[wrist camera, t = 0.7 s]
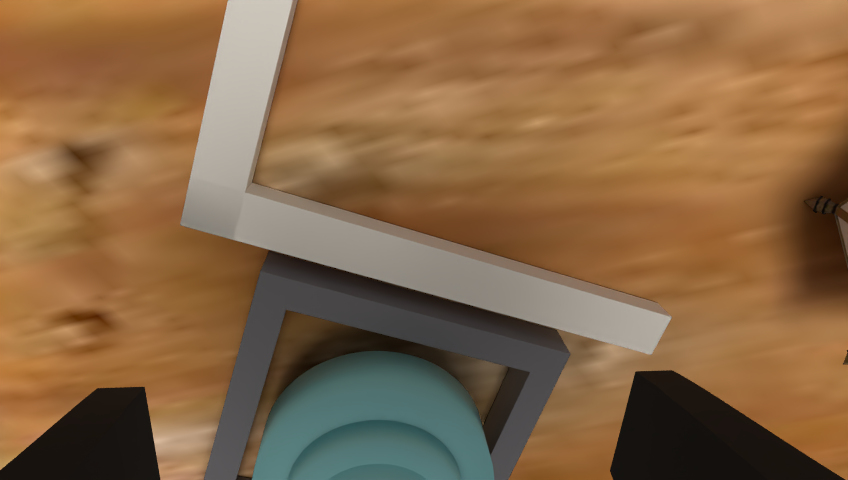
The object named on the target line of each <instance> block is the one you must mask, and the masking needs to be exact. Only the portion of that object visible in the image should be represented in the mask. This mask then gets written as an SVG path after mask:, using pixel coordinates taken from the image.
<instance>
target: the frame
mask: <svg viewBox="0 0 848 480" xmlns="http://www.w3.org/2000/svg"><path fill="white" fill-rule="evenodd" d="M297 1H298V0H228V3H227V8H226V12H225V17H224V22H223V26H222V31H221V36H220V40H219V45H218V50H217V55H216V59H215V64H214V69H213V73H212V78H211V83H210V87H209V92H208V97H207V101H206V106H205V111H204V115H203V120H202V125H201V129H200V134H199V139H198V144H197V148H196V153H195V158H194V162H193V167H192V172H191V176H190V181H189V186H188V190H187V195H186V200H185V204H184V209H183V214H182V218H181V223H180V225H181V226H185V227H188V228H192V229H196V230H199V231H203V232H207V233H210V234H214V235H218V236H221V237H225V238H228V239H232V240H236V241H239V242H243V243H247V244H250V245H254V246H257V247H261V248H265V249H268V250H272V251H276V252H279V253H283V254H287V255H290V256H294V257H297V258H301V259H305V260H308V261H312V262H316V263H319V264H323V265H326V266H330V267H334V268H337V269H341V270H345V271H348V272H352V273H356V274H359V275H363V276H366V277H370V278H374V279H377V280H381V281H385V282H388V283H392V284H396V285H399V286H403V287H406V288H410V289H414V290H417V291H421V292H425V293H428V294H432V295H435V296H439V297H443V298H446V299H450V300H454V301H457V302H461V303H465V304H468V305H472V306H475V307H479V308H483V309H486V310H490V311H494V312H497V313H501V314H505V315H508V316H512V317H515V318H519V319H523V320H526V321H530V322H534V323H537V324H541V325H544V326H548V327H552V328H555V329H559V330H563V331H566V332H570V333H574V334H577V335H581V336H584V337H588V338H592V339H595V340H599V341H603V342H606V343H610V344H613V345H617V346H621V347H624V348H628V349H632V350H635V351H639V352H643V353H646V354H650V355H651V354H652V352H653V351H654V349H655V347H656V345H657V343H658V342H659V340H660V338H661V336H662V334H663V333H664V331H665V329H666V327H667V325H668V323H669V322H670V320H671V318H672V317H671V316H670V315H669V314H668V313H667V312H666V311H665V310H664V309H663V308H662V307H661V306H660V305H659V304H658V303H656V302H653V301H650V300H646V299H643V298H639V297H636V296H633V295H629V294H626V293H623V292H619V291H616V290H612V289H609V288H606V287H602V286H599V285H596V284H592V283H589V282H585V281H582V280H579V279H575V278H572V277H569V276H565V275H562V274H558V273H555V272H552V271H548V270H545V269H542V268H538V267H535V266H531V265H528V264H525V263H521V262H518V261H515V260H511V259H508V258H504V257H501V256H498V255H494V254H491V253H488V252H484V251H481V250H477V249H474V248H471V247H467V246H464V245H461V244H457V243H454V242H450V241H447V240H444V239H440V238H437V237H434V236H430V235H427V234H423V233H420V232H417V231H413V230H410V229H407V228H403V227H400V226H396V225H393V224H390V223H386V222H383V221H380V220H376V219H373V218H370V217H366V216H363V215H359V214H356V213H353V212H349V211H346V210H343V209H339V208H336V207H332V206H329V205H326V204H322V203H319V202H316V201H312V200H309V199H305V198H302V197H299V196H295V195H292V194H289V193H285V192H282V191H278V190H275V189H272V188H268V187H265V186H262V185H258V184H255V183H252V180H253V176H254V172H255V168H256V164H257V160H258V156H259V152H260V148H261V144H262V140H263V136H264V132H265V128H266V124H267V120H268V116H269V112H270V108H271V104H272V101H273V97H274V93H275V89H276V85H277V81H278V77H279V73H280V69H281V65H282V61H283V57H284V53H285V49H286V45H287V41H288V37H289V33H290V29H291V25H292V21H293V17H294V13H295V9H296V5H297Z"/></svg>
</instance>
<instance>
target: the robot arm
mask: <svg viewBox="0 0 848 480" xmlns="http://www.w3.org/2000/svg"><path fill="white" fill-rule="evenodd" d="M610 472H611V475H612V477H613V480H845V479H843V478H842V477H840V476H839V475H837V474H835V473H834V472H832V471H831V470H829V469H827V468H826V467H824V466H823V465H821V464H819V463H818V462H816V461H815V460H813V459H812V458H810V457H808V456H807V455H805V454H804V453H802V452H801V451H799V450H798V449H796V448H794V447H793V446H791V445H790V444H788V443H787V442H785V441H784V440H782V439H780V438H779V437H777V436H776V435H774V434H773V433H771V432H770V431H768V430H767V429H765V428H764V427H762V426H760V425H759V424H757V423H756V422H754V421H753V420H751V419H750V418H748V417H747V416H745V415H744V414H742V413H741V412H739V411H738V410H736V409H734V408H733V407H731V406H730V405H728V404H727V403H725V402H724V401H722V400H721V399H719V398H717V397H716V396H714V395H713V394H711V393H710V392H708V391H706V390H705V389H703V388H702V387H700V386H698V385H697V384H695V383H693V382H692V381H690V380H688V379H687V378H685V377H683V376H681V375H680V374H678V373H676V372H674V371H672V370H669V371H637V372H635V376H634V380H633V384H632V387H631V391H630V395H629V399H628V403H627V407H626V411H625V415H624V419H623V422H622V426H621V430H620V434H619V438H618V442H617V446H616V450H615V454H614V457H613V461H612V465H611V469H610ZM0 480H160V475H159V469H158V463H157V457H156V451H155V445H154V439H153V434H152V428H151V422H150V416H149V410H148V404H147V398H146V392H145V387H125V388H97V389H96V390H95V391H94V392H92V393H91V394H90V395H89V396H87V397H86V398H85V399H84V400H82V401H81V402H80V403H79V404H78V405H76V406H75V407H74V408H73V409H72V410H71V411H69V412H68V413H67V414H66V415H65V416H64V417H62V418H61V419H60V420H59V421H58V422H57V423H55V424H54V425H53V426H52V427H51V428H50V429H48V430H47V431H46V432H45V433H44V434H43V435H41V436H40V437H39V438H38V439H37V440H36V441H34V442H33V443H32V444H31V445H30V446H29V447H27V448H26V449H25V450H24V451H23V452H21V453H20V454H19V455H18V456H17V457H16V458H14V459H13V460H12V461H11V462H10V463H8V464H7V465H6V466H5V467H4V468H2V469H1V470H0Z"/></svg>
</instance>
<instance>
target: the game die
mask: <svg viewBox="0 0 848 480" xmlns="http://www.w3.org/2000/svg"><path fill="white" fill-rule="evenodd" d="M805 202H806V203H807V204H808V205H809V206H810V207H811V208H812V209H813V211H814V212H815V213H817V212H821V213H822V214H824V215H825V214H826V213H832V214H834V215H835V218H836V222H837V226H838V230H839V234H840V239H841V243H842V247H843V251H844V255H845V259H846V263H847V267H848V198H847V199H846V200H844V201H843V202H841V203H840V204H836V203H834V202H832V201H831V199H830V198H829V199H825V198H823V196H820V197H819V198H815V199H811V200H806V201H805ZM847 352H848V350H847ZM845 364H848V353H847V355H846V358H845V360H844V363H843V365H845Z"/></svg>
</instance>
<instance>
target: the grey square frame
mask: <svg viewBox="0 0 848 480" xmlns="http://www.w3.org/2000/svg"><path fill="white" fill-rule="evenodd" d="M286 310H289V311H293V312H297V313H301V314H305V315H309V316H313V317H317V318H321V319H325V320H328V321H332V322H336V323H340V324H344V325H348V326H352V327H356V328H360V329H364V330H368V331H371V332H375V333H379V334H383V335H387V336H391V337H395V338H399V339H403V340H407V341H410V342H414V343H418V344H422V345H426V346H430V347H434V348H438V349H442V350H446V351H449V352H453V353H457V354H461V355H465V356H469V357H473V358H477V359H481V360H485V361H488V362H492V363H496V364H500V365H504V366H508V367H510V368H509V371H508V373H507V375H506V377H505V379H504V381H503V384H502V386H501V388H500V390H499V392H498V394H497V397H496V399H495V401H494V403H493V405H492V407H491V410H490V412H489V414H488V416H487V418H486V421H485V423H484V425H483V430H484V434H485V438H486V442H487V445H488V449H489V453H490V457H491V460H492V464H493V471H494V480H508V479H509V477H510V475H511V473H512V471H513V469H514V467H515V465H516V463H517V461H518V459H519V457H520V455H521V453H522V451H523V449H524V447H525V445H526V443H527V441H528V439H529V437H530V434H531V432H532V430H533V428H534V426H535V424H536V422H537V420H538V418H539V416H540V414H541V412H542V410H543V408H544V406H545V404H546V402H547V400H548V398H549V396H550V394H551V392H552V390H553V388H554V386H555V384H556V382H557V380H558V378H559V376H560V374H561V372H562V370H563V368H564V366H565V364H566V362H567V360H568V358H569V356H570V352H569V351H568V349H567V347H566V346H565V344H564V342H563V340H562V339H561V337H560V335H559V334H558V332H557V330H554V329H550V328H547V327H543V326H539V325H536V324H532V323H529V322H525V321H521V320H518V319H514V318H510V317H507V316H503V315H499V314H496V313H492V312H489V311H485V310H481V309H478V308H474V307H470V306H467V305H463V304H459V303H456V302H452V301H448V300H445V299H441V298H438V297H434V296H430V295H427V294H423V293H419V292H416V291H412V290H408V289H405V288H401V287H398V286H394V285H390V284H387V283H383V282H379V281H376V280H372V279H368V278H365V277H361V276H357V275H354V274H350V273H347V272H343V271H339V270H336V269H332V268H328V267H325V266H321V265H317V264H314V263H310V262H307V261H303V260H299V259H296V258H292V257H288V256H285V255H281V254H277V253H274V252H270V251H269V252H268V255H267V257H266V259H265V262H264V264H263V266H262V269H261V271H260V275H259V278H258V282H257V286H256V289H255V293H254V297H253V300H252V304H251V308H250V311H249V315H248V319H247V322H246V326H245V330H244V334H243V337H242V341H241V345H240V348H239V352H238V356H237V359H236V363H235V367H234V370H233V374H232V378H231V381H230V385H229V389H228V392H227V396H226V400H225V404H224V407H223V411H222V415H221V418H220V422H219V426H218V429H217V433H216V437H215V440H214V444H213V448H212V451H211V455H210V459H209V463H208V466H207V470H206V474H205V477H204V480H252V479H250V478H245V477H240V476H237V474H238V471H239V467H240V464H241V461H242V457H243V454H244V450H245V447H246V444H247V440H248V437H249V433H250V430H251V427H252V423H253V420H254V417H255V413H256V410H257V406H258V403H259V400H260V396H261V393H262V389H263V386H264V383H265V379H266V376H267V372H268V369H269V366H270V362H271V359H272V356H273V352H274V349H275V345H276V342H277V339H278V335H279V332H280V328H281V325H282V322H283V318H284V315H285V311H286Z"/></svg>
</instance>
